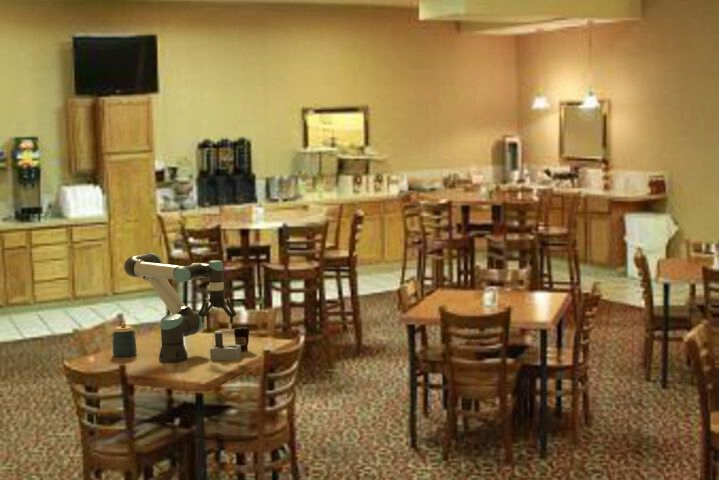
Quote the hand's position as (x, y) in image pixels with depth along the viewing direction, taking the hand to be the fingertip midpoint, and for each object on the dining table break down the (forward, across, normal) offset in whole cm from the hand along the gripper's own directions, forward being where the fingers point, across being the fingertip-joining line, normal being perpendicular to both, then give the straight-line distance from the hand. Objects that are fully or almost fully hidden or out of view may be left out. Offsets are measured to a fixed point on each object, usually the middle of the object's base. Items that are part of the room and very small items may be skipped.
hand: (217, 329), depth 536 cm
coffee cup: (+16, +9, +16) cm, 24 cm away
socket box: (+16, +4, 0) cm, 16 cm away
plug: (+14, +1, 0) cm, 14 cm away
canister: (+17, -54, +4) cm, 57 cm away
